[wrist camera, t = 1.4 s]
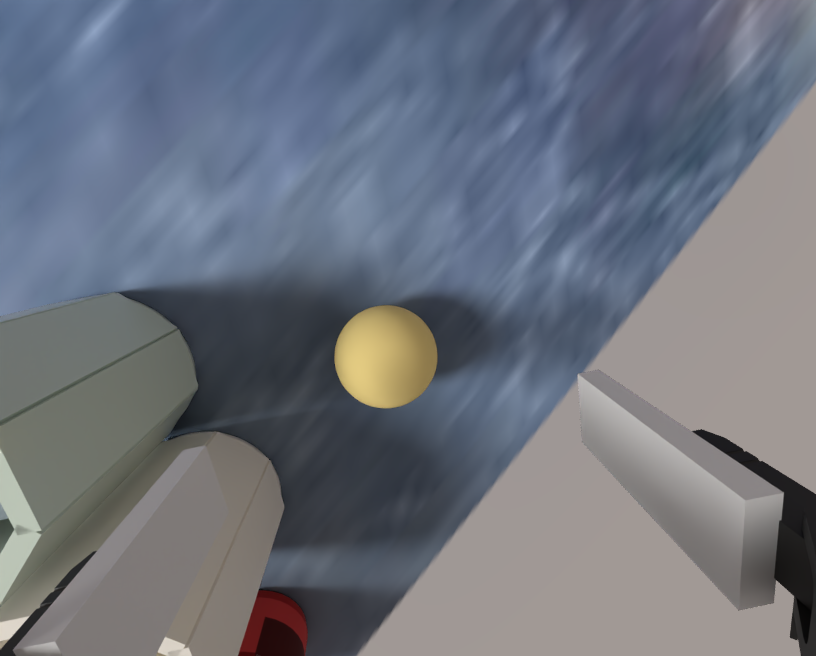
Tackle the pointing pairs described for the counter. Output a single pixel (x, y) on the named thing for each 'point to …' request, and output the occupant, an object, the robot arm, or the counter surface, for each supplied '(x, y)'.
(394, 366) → the ball loose
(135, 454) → the crock sage
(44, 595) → the crock cream
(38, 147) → the counter surface
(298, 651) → the canned food
